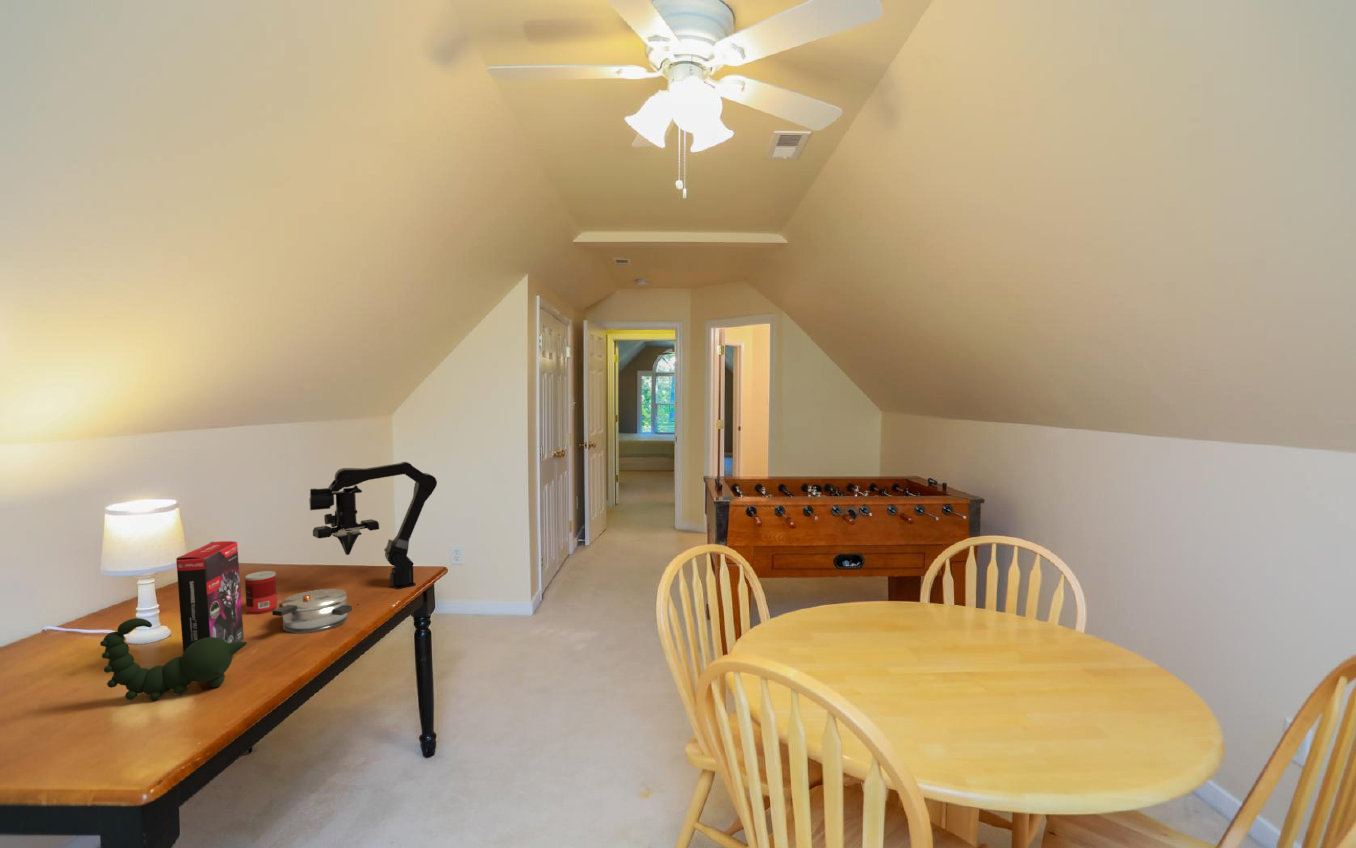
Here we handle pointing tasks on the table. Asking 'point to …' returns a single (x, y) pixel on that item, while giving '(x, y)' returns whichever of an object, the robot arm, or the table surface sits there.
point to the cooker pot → (316, 619)
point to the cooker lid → (311, 601)
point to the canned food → (261, 592)
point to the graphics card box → (210, 593)
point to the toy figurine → (195, 664)
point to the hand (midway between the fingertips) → (347, 554)
